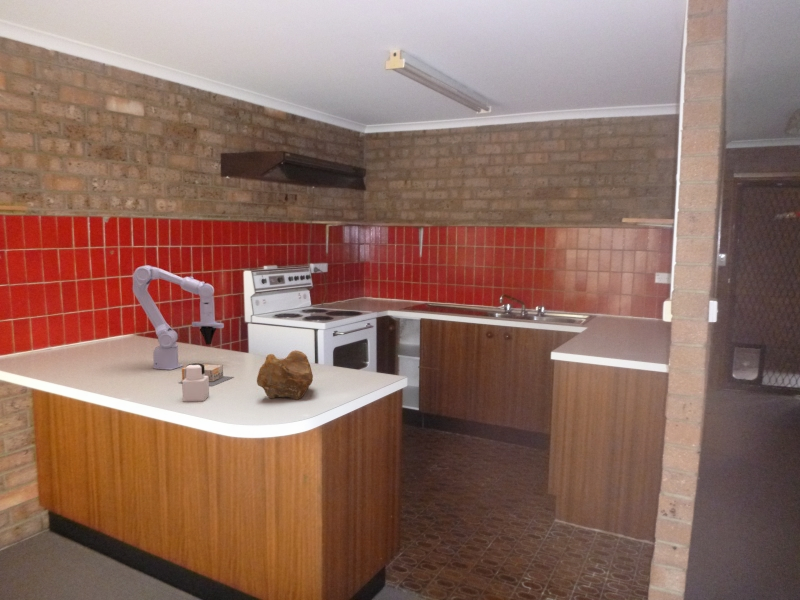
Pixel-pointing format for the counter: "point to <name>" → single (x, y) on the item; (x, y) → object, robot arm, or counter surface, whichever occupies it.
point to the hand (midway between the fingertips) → (208, 344)
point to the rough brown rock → (285, 375)
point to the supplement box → (209, 372)
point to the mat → (218, 380)
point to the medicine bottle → (195, 383)
